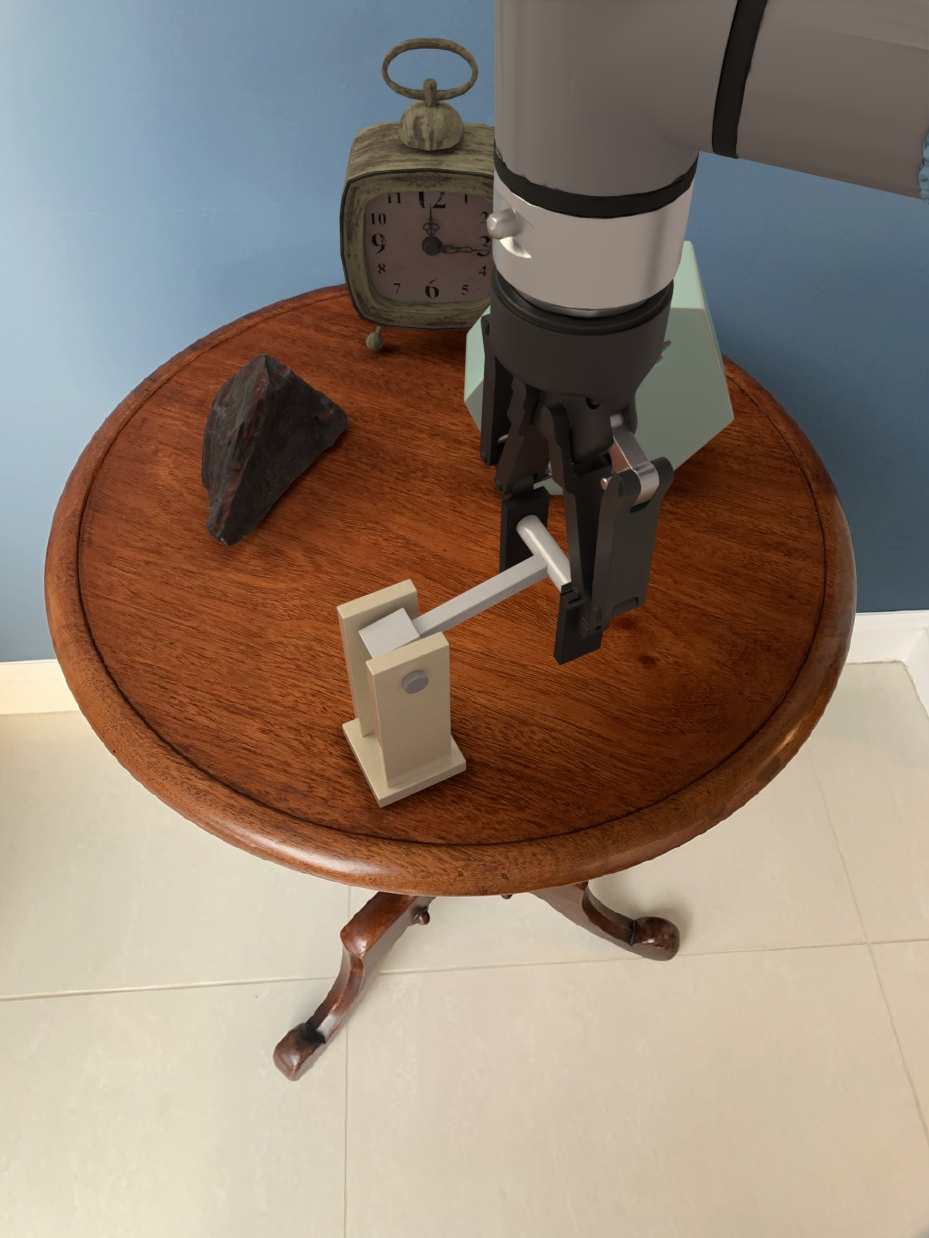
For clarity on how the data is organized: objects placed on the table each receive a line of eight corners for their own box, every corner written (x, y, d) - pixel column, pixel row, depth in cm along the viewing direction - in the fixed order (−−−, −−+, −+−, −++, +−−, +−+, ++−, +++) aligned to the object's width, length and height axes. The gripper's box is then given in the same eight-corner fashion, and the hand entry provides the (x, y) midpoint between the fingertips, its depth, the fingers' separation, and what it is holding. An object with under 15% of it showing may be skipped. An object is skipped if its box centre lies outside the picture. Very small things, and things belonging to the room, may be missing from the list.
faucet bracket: (426, 698, 65) (419, 566, 54) (466, 770, 62) (467, 645, 51) (343, 733, 64) (318, 604, 53) (380, 808, 61) (362, 688, 49)
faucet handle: (540, 530, 57) (535, 505, 55) (593, 603, 54) (590, 579, 52) (355, 627, 56) (344, 605, 54) (399, 708, 53) (388, 688, 51)
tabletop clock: (352, 362, 86) (319, 64, 66) (361, 300, 92) (333, 7, 72) (515, 365, 86) (533, 67, 66) (515, 303, 92) (530, 10, 71)
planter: (593, 469, 85) (776, 300, 71) (598, 536, 80) (795, 369, 66) (428, 381, 78) (595, 173, 64) (423, 448, 73) (602, 240, 59)
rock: (359, 423, 81) (349, 332, 74) (232, 568, 72) (206, 481, 65) (286, 395, 84) (270, 304, 76) (154, 533, 74) (120, 444, 67)
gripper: (402, 177, 44) (423, 525, 62) (630, 439, 34) (574, 762, 52) (548, 139, 46) (527, 487, 64) (805, 375, 35) (691, 708, 54)
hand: (548, 610), depth 58 cm, fingers closed on faucet handle, 6 cm apart
